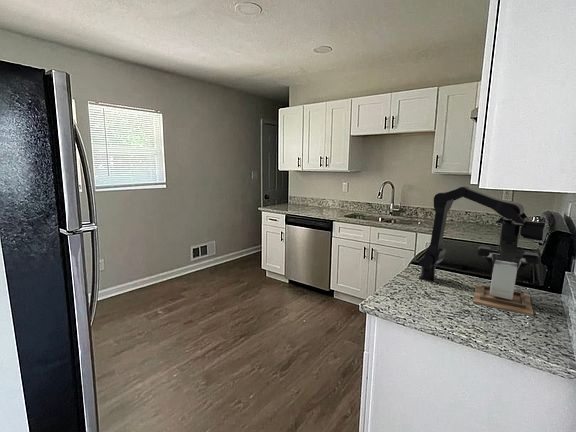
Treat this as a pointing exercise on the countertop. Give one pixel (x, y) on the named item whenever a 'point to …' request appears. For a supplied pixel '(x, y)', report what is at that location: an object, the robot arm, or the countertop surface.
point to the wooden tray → (503, 300)
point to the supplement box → (503, 279)
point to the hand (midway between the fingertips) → (504, 276)
